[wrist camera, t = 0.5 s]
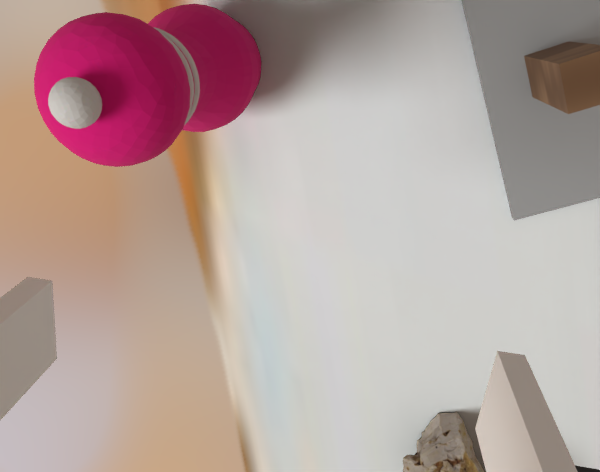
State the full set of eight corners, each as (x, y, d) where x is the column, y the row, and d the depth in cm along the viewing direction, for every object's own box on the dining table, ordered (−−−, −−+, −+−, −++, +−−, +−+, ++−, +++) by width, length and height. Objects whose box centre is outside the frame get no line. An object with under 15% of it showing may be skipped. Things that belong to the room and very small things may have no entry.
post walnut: (523, 56, 35) (558, 64, 28) (568, 41, 34) (614, 46, 28) (532, 97, 35) (568, 114, 29) (575, 83, 35) (622, 98, 28)
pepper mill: (194, -18, 36) (5, -60, 17) (289, 47, 37) (205, 74, 18) (144, 80, 39) (-67, 135, 20) (234, 139, 39) (111, 245, 21)
